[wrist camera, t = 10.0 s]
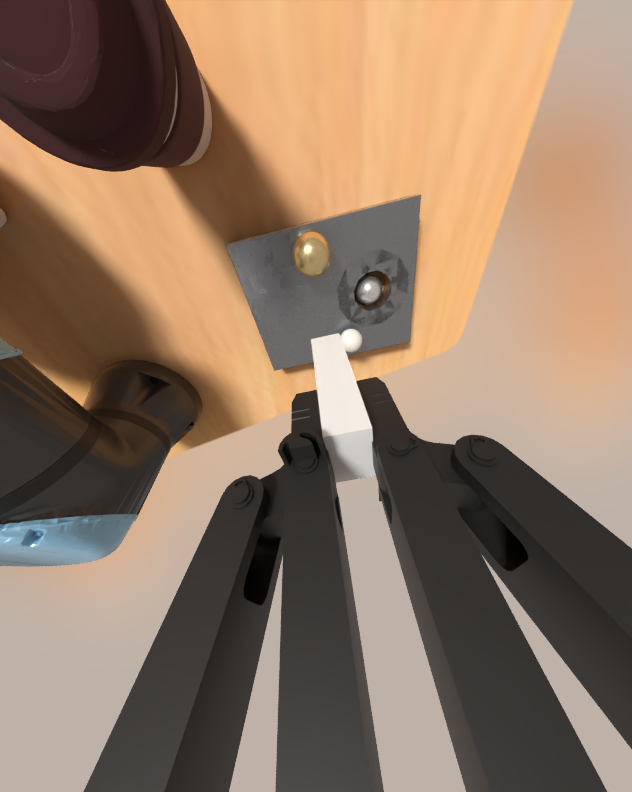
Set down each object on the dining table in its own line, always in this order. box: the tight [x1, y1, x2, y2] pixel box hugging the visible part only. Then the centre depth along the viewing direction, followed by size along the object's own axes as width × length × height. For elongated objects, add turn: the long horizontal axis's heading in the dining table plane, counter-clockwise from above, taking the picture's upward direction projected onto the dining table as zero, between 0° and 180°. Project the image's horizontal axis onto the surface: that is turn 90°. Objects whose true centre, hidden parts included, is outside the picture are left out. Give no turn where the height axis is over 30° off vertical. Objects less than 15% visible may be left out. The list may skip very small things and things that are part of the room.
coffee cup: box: [0, 0, 212, 172], centre depth 13 cm, size 10×10×15 cm
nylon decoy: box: [340, 329, 362, 352], centre depth 30 cm, size 3×3×3 cm
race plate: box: [226, 195, 421, 371], centre depth 29 cm, size 20×16×2 cm
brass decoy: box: [292, 232, 332, 278], centre depth 23 cm, size 4×4×4 cm
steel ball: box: [356, 276, 382, 304], centre depth 28 cm, size 3×3×3 cm
